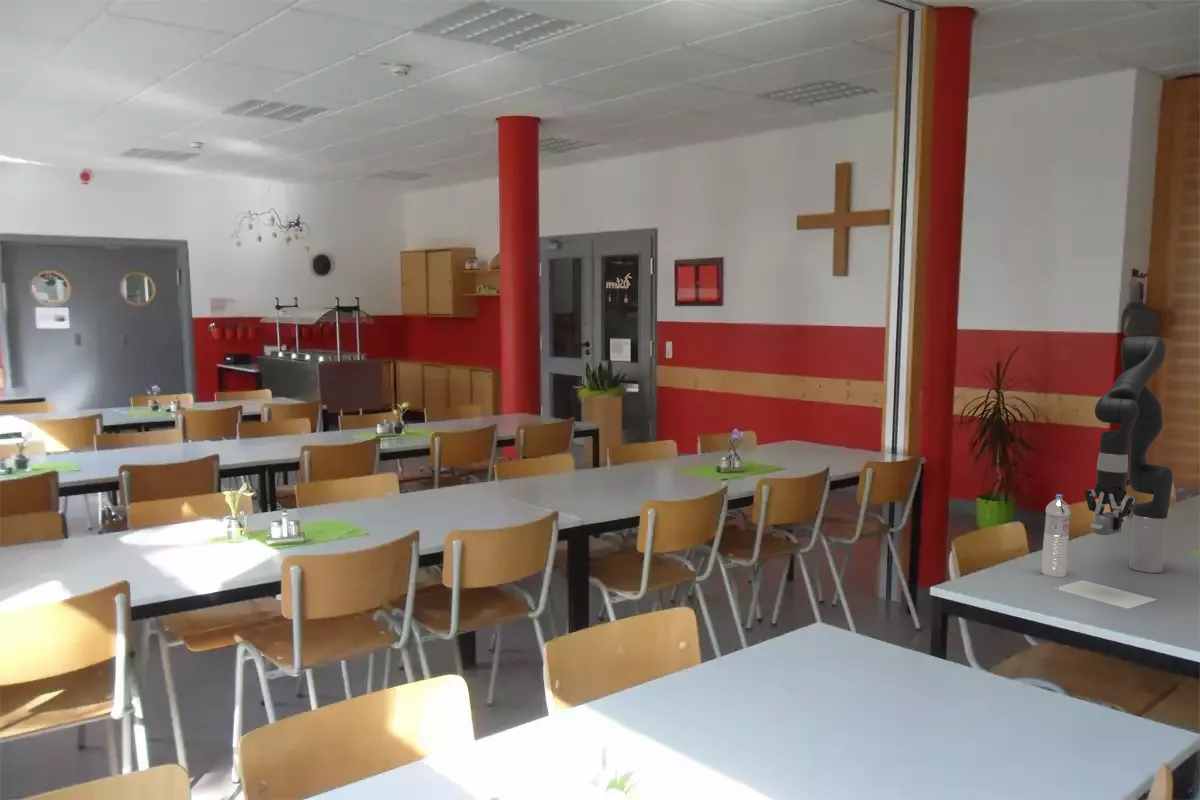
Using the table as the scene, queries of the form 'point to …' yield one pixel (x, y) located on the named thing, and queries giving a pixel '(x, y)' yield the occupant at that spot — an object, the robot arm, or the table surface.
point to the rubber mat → (1106, 594)
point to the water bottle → (1056, 538)
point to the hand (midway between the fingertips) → (1107, 528)
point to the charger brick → (1104, 524)
